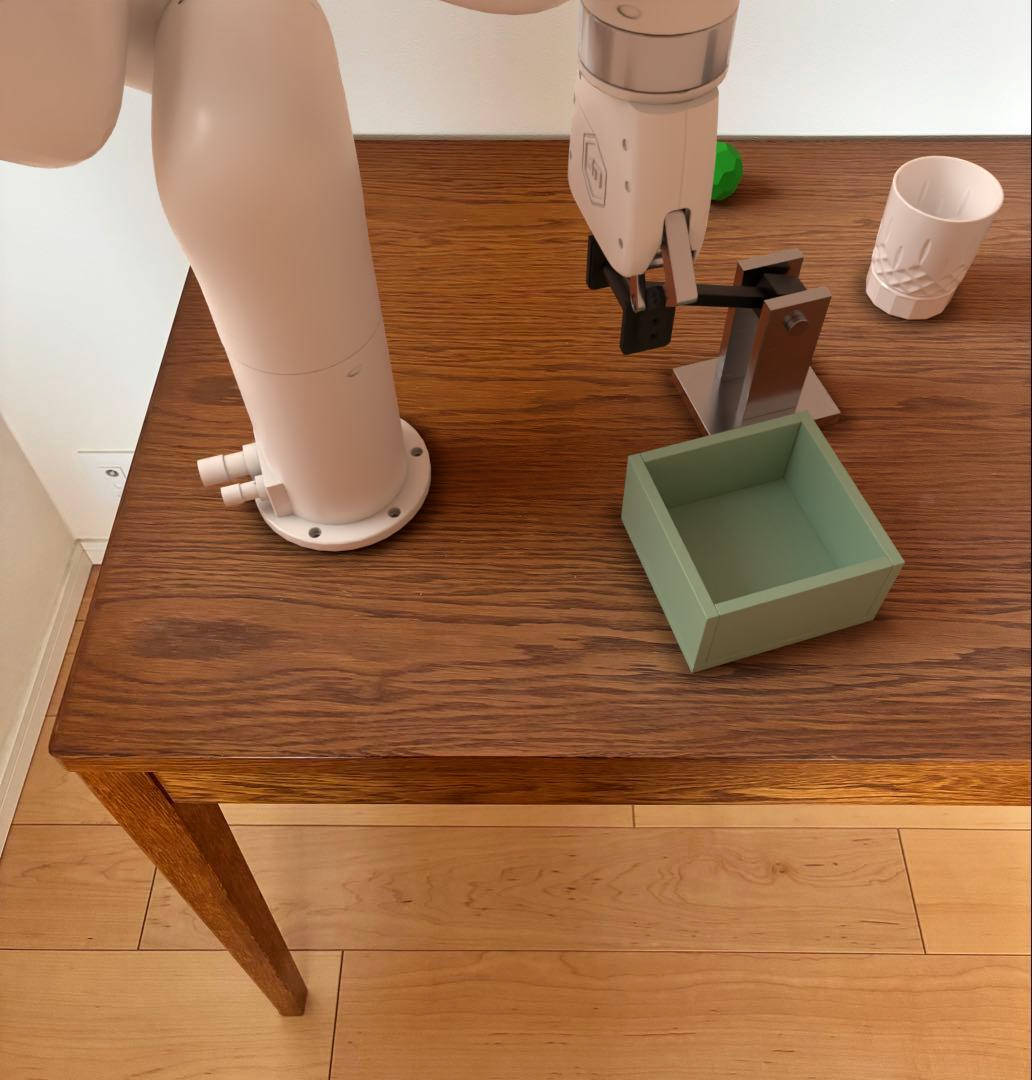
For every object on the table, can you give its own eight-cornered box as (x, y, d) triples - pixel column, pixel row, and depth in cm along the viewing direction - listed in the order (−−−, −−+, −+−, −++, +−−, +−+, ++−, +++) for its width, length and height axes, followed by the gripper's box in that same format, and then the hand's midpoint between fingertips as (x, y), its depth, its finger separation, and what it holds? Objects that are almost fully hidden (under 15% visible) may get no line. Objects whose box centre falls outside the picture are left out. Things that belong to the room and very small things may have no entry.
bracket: (712, 455, 71) (739, 335, 62) (670, 379, 76) (689, 255, 66) (837, 423, 73) (883, 300, 63) (789, 350, 77) (825, 225, 68)
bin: (691, 673, 61) (706, 619, 56) (620, 518, 68) (627, 455, 63) (873, 620, 63) (905, 562, 58) (786, 474, 70) (807, 409, 65)
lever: (622, 332, 60) (637, 301, 59) (595, 280, 63) (608, 249, 61) (803, 338, 66) (821, 309, 64) (771, 290, 69) (787, 261, 67)
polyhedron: (678, 207, 87) (685, 160, 84) (686, 174, 90) (692, 127, 86) (735, 215, 87) (744, 167, 83) (741, 181, 89) (750, 133, 86)
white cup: (958, 331, 78) (1008, 227, 70) (856, 319, 79) (893, 215, 71) (954, 266, 82) (1000, 161, 74) (857, 255, 83) (892, 150, 75)
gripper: (529, -36, 52) (530, 243, 67) (648, 147, 43) (618, 424, 58) (661, -58, 53) (633, 221, 68) (805, 115, 44) (736, 395, 59)
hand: (626, 312), depth 63 cm, fingers open, 5 cm apart
